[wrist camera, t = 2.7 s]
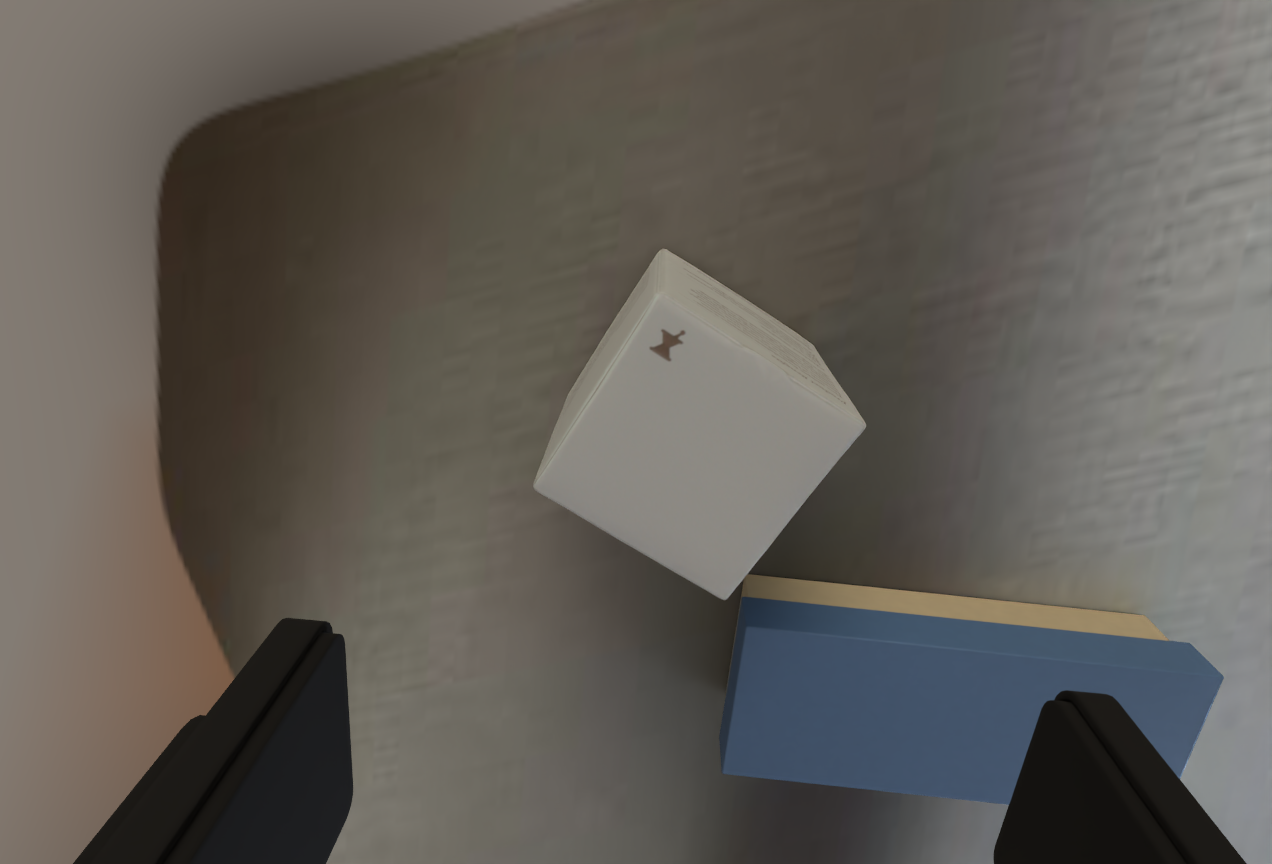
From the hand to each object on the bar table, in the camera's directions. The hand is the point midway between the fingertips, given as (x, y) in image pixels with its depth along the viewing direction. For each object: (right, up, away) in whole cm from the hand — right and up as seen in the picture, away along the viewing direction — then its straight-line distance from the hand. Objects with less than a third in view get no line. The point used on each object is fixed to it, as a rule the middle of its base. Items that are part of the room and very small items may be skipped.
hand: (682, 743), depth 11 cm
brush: (+10, -4, +19) cm, 22 cm away
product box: (+1, +6, +16) cm, 17 cm away
